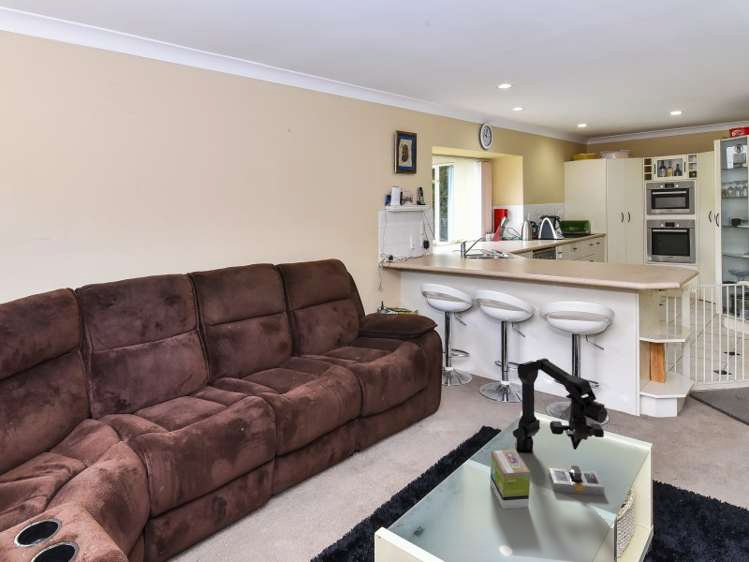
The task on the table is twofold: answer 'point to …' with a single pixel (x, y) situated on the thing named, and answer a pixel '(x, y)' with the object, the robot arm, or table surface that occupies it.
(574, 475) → the panel
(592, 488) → the rack
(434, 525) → the table surface
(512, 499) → the tea box
